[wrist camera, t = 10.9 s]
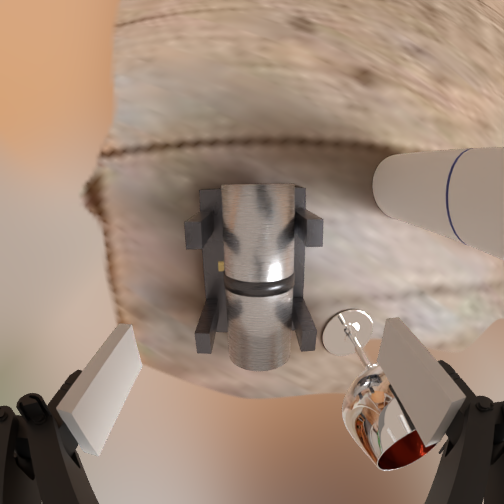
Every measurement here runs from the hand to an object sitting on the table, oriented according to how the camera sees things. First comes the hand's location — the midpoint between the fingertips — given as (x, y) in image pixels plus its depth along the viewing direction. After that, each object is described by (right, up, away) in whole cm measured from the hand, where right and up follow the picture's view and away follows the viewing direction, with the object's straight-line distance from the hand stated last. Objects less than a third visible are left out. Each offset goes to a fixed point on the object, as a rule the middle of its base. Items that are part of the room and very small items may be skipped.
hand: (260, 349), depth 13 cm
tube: (0, +3, +14) cm, 15 cm away
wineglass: (+11, -5, +18) cm, 22 cm away
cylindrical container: (+16, +12, +14) cm, 24 cm away
